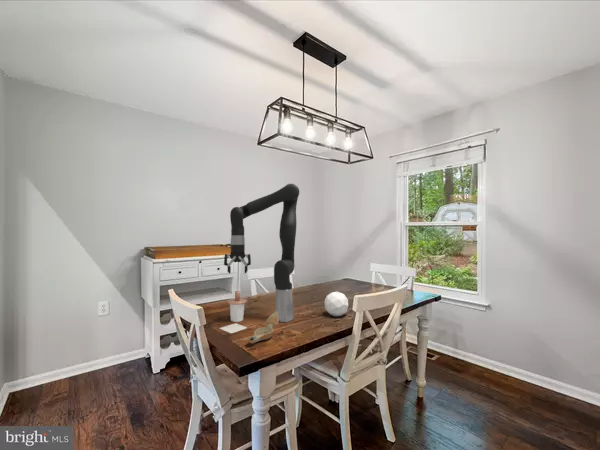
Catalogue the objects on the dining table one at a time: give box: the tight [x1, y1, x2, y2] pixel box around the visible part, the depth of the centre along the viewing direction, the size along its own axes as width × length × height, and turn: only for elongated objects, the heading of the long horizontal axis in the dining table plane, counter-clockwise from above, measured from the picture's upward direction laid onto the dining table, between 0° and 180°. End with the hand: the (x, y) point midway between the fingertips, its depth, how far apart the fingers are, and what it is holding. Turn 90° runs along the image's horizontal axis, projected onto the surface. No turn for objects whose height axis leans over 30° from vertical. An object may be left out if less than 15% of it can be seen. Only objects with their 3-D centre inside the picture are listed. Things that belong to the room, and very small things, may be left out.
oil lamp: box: [247, 310, 279, 344], centre depth 128 cm, size 9×21×10 cm, turn 152°
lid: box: [227, 290, 247, 305], centre depth 152 cm, size 10×10×6 cm
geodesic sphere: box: [323, 291, 349, 317], centre depth 163 cm, size 15×14×14 cm
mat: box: [218, 322, 248, 334], centre depth 139 cm, size 10×10×1 cm
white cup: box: [229, 303, 245, 323], centre depth 152 cm, size 8×8×10 cm
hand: (237, 273), depth 152 cm, fingers open, 8 cm apart
